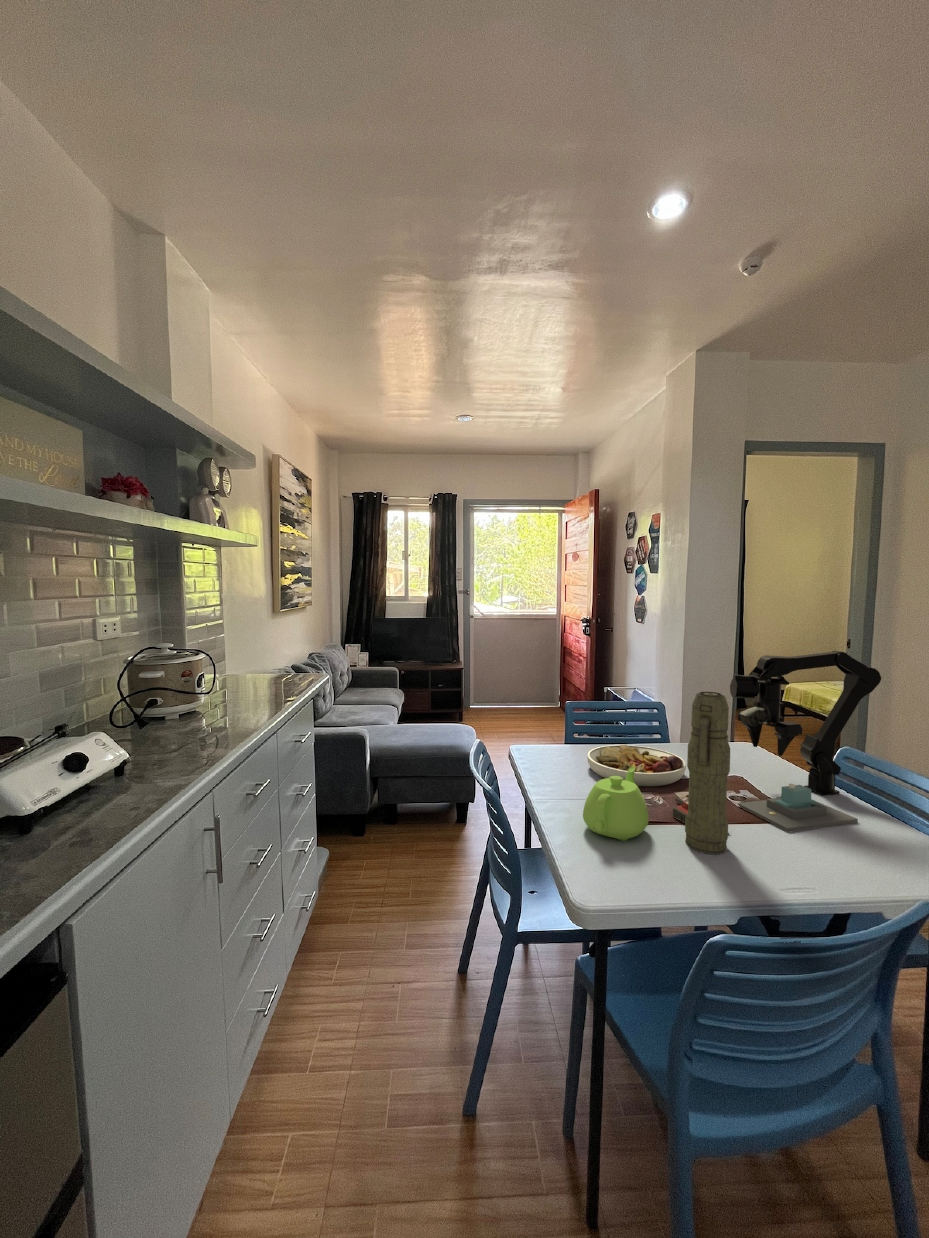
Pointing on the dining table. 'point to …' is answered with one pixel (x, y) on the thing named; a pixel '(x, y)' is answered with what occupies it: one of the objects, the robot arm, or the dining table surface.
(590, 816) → the teapot
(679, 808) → the walkie-talkie
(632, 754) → the bowl
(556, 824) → the dining table surface
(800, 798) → the servo
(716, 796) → the thermos
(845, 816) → the plate
